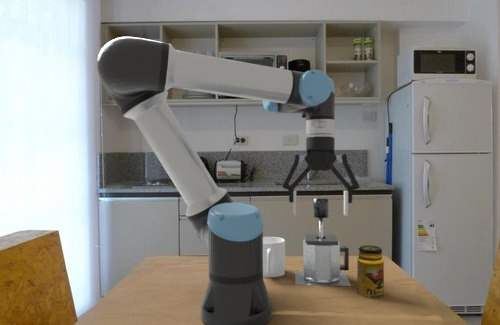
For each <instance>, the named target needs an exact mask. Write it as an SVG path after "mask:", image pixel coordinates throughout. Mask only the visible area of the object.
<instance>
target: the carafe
mask: <svg viewBox="0 0 500 325" xmlns="http://www.w3.org/2000/svg"><path fill="white" fill-rule="evenodd" d="M302 242H303V246H302V247H303V248H302V249H303V271H304V279H305V280H306V281H308V282H311V283H315V284H333V283H336V282H338V281H339V280H340V272H341V271H349V269H350V267H349V263H350V261H349V260H350V259H349V256H350V255H349V247H348V246H346V245H345V246H341V243H340V241H339V240H338V238H337V237H336V235H335V234H324V233H323V239H319V233H318V234H317V233H316V234H315V233H314V234H313V233H311V234H310V233H308V234H307V233H306V234H305V238H304V239H303V241H302ZM341 253H343V264H341Z"/></svg>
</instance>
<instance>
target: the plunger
mask: <svg viewBox="0 0 500 325" xmlns="http://www.w3.org/2000/svg"><path fill="white" fill-rule="evenodd" d="M312 200H313V201H312V202H313V208H312V209H313V210H312V211H313V218H315V219H316V218H317V219H318V224H319V225H318V229H319V231H318V234H319V239H323V234H324V219H327V218H329V212H330V211H329V198H328V197H313V199H312Z"/></svg>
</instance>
